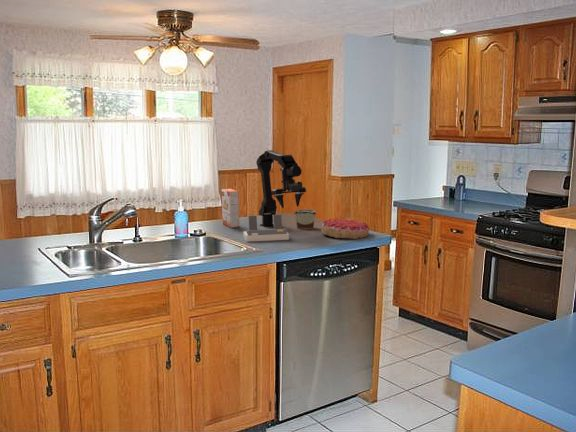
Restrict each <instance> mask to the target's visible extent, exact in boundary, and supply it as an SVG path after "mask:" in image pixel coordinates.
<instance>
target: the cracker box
mask: <svg viewBox="0 0 576 432" xmlns="http://www.w3.org/2000/svg"><path fill="white" fill-rule="evenodd" d="M239 199H240V197H239V191H238V190H235V189H233V188H222V189H221V206H222V207H221V208H222V209H221V210H222V224H223V225H225V226H227V227H229V228H231V229H233V228H240V200H239Z"/></svg>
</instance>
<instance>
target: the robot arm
mask: <svg viewBox="0 0 576 432" xmlns="http://www.w3.org/2000/svg"><path fill="white" fill-rule="evenodd" d="M274 161H276V162H277V164H278V165H280V166H281V167H280V168H279V171H281V179H282V180H281V183H282V188H278V189H277V188H275V189H272V183H271V170H272V168H273V163H274ZM256 166H257V167H256V168H257V170H258V171H259V172H260V175H261V183H262V184H261V185H262V195H263V198H262V201H261V206H260V208H259V211H258V215H259V216H261V223H260V226H261V227H266V228H267V227H274V222H273V215H277V207H278V206H277V201H278V203H279V205H280V207H281V208H282V209H284V207H285V204H284V194H290V193H294V198H295V205H296V207H299V206H300V201H301V198H302V196H303V195H305V193H307V189H306V187H305V186H304V187H303V182H302V181H297V182H296V180H295V178H297V177H300V176H301V175H302V171H303V170H302V168H301V167H300V166H299V163H297V162H296V159H295V158H294V157H293V155H292V154H283V153H279V152H278V151H277V152H276V151H274V150H268V149H267V150H265V151H264V153H262V154H261V155H259V156H258V158H257V159H256ZM273 197H275V198H276V199H274V198H273ZM276 200H277V201H276Z"/></svg>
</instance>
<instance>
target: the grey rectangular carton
mask: <svg viewBox="0 0 576 432" xmlns="http://www.w3.org/2000/svg"><path fill="white" fill-rule="evenodd" d="M282 221H283V220H282V214H276V215H273V224H274V226H273V229H283V222H282Z"/></svg>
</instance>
